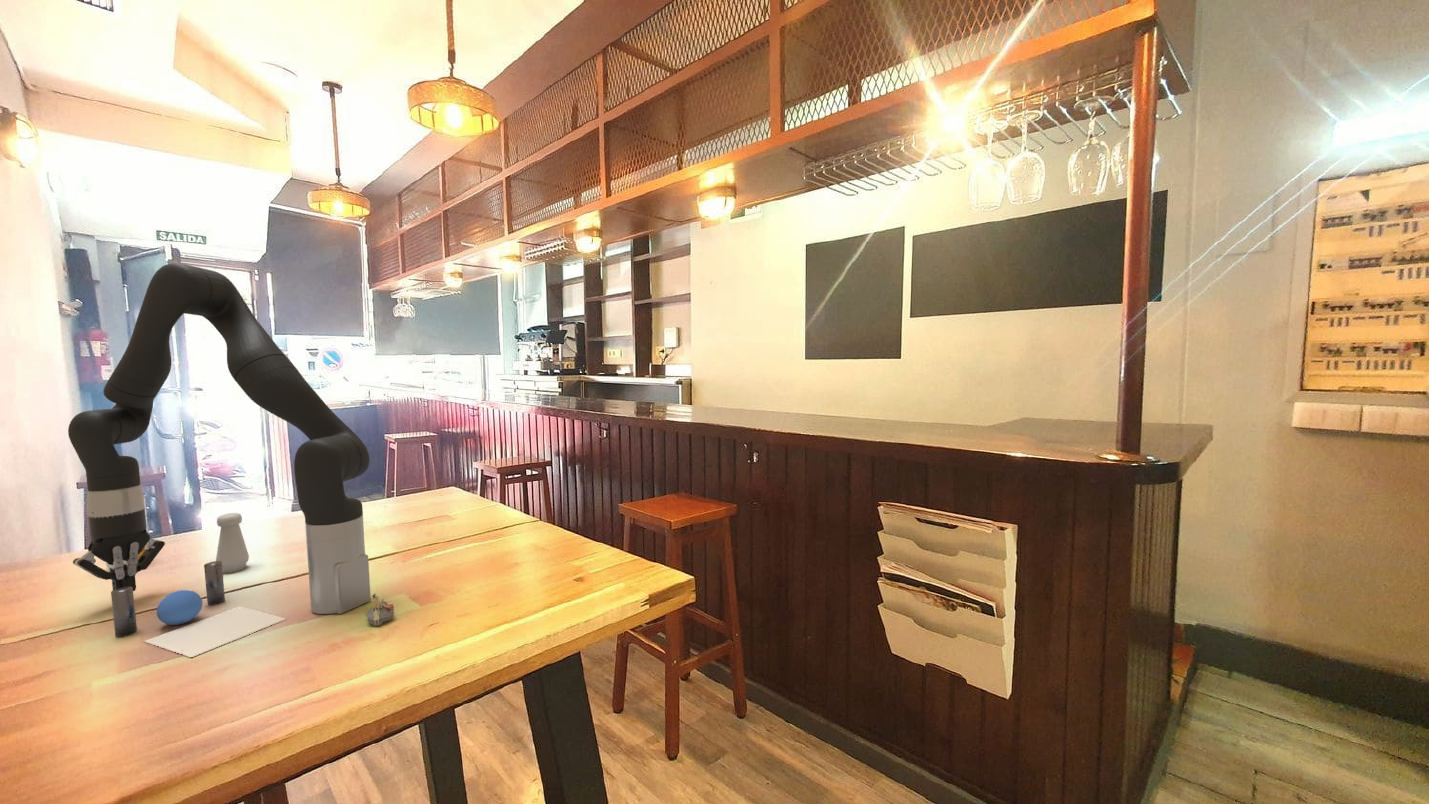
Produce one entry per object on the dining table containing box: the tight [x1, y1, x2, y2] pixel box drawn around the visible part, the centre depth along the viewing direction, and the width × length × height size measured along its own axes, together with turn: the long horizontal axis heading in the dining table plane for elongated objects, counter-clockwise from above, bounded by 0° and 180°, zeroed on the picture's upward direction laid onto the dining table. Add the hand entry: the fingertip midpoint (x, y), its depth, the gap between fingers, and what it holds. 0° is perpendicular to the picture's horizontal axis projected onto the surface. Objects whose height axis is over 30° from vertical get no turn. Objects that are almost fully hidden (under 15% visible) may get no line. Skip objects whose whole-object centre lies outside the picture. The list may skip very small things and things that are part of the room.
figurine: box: [365, 593, 395, 627], centre depth 100 cm, size 5×4×6 cm
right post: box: [203, 560, 226, 606], centre depth 108 cm, size 3×3×8 cm
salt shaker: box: [215, 512, 250, 574], centre depth 125 cm, size 6×6×13 cm
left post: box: [110, 587, 138, 638], centre depth 96 cm, size 3×3×8 cm
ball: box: [156, 589, 203, 626], centre depth 100 cm, size 6×6×6 cm
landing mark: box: [143, 605, 287, 658], centre depth 97 cm, size 14×14×1 cm
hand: (125, 595), depth 109 cm, fingers closed
